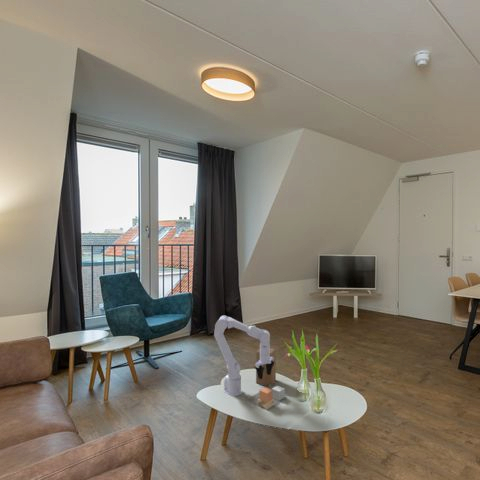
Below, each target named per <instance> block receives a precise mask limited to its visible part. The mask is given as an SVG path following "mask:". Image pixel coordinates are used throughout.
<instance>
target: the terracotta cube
mask: <svg viewBox="0 0 480 480" xmlns="http://www.w3.org/2000/svg"><path fill="white" fill-rule="evenodd" d="M258 393H259V400H261V401H264V402H266V403H268V402H269V401H271V400H272V399H273V390H272V388H269V387H266V386H265V387H263V388H261V389H259V391H258Z"/></svg>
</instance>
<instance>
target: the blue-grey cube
mask: <svg viewBox="0 0 480 480" xmlns="http://www.w3.org/2000/svg"><path fill="white" fill-rule="evenodd" d="M271 390H273V398H274V399H276V400H281V399H283V398H284V396H285V388H284V387H281V386H280V385H276V386H273V387H272V388H271Z"/></svg>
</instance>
